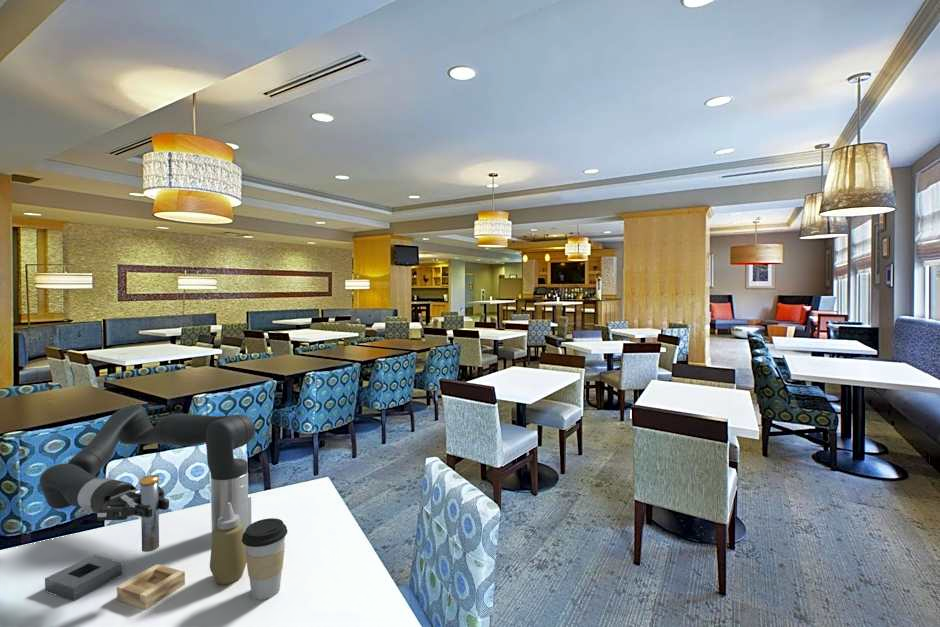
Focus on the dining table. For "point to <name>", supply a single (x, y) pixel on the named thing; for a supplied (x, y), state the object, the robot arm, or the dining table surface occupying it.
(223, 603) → the dining table surface
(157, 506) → the steel rod
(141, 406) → the robot arm
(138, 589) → the oak tray
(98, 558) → the socket block
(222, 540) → the squeeze bottle
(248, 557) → the coffee cup
